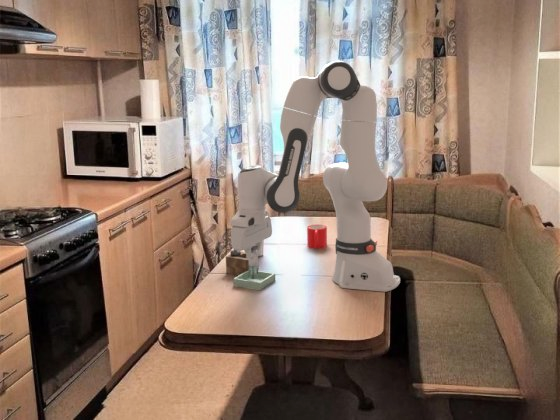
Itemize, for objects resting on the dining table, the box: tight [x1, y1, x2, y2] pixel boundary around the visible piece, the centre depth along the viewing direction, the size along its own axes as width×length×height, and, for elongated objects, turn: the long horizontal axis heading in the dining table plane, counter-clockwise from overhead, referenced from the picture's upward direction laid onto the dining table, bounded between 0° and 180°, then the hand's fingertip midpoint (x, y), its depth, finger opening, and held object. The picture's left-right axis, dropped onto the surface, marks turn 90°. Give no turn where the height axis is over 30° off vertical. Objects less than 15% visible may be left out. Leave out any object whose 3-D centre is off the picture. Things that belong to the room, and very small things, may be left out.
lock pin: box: [248, 246, 259, 279], centre depth 192 cm, size 3×3×11 cm
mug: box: [306, 224, 328, 249], centre depth 232 cm, size 8×12×8 cm, turn 177°
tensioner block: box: [225, 249, 249, 276], centre depth 205 cm, size 9×7×8 cm
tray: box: [232, 270, 276, 291], centre depth 194 cm, size 10×10×2 cm
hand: (253, 256), depth 192 cm, fingers closed on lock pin, 3 cm apart
